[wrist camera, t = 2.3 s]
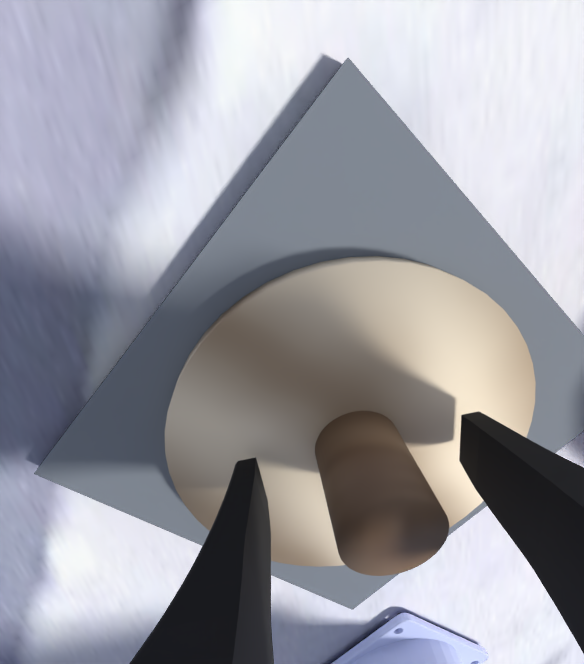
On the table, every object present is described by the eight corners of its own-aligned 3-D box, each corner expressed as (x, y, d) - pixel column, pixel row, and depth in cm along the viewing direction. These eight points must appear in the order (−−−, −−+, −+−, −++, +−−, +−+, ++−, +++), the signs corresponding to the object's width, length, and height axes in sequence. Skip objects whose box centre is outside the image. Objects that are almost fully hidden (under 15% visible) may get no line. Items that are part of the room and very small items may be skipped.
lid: (352, 582, 17) (383, 704, 13) (96, 466, 13) (27, 598, 9) (582, 398, 14) (713, 487, 10) (348, 155, 9) (419, 143, 5)
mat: (350, 598, 18) (352, 609, 18) (41, 463, 13) (33, 473, 12) (620, 386, 14) (632, 393, 14) (343, 63, 9) (348, 57, 9)
